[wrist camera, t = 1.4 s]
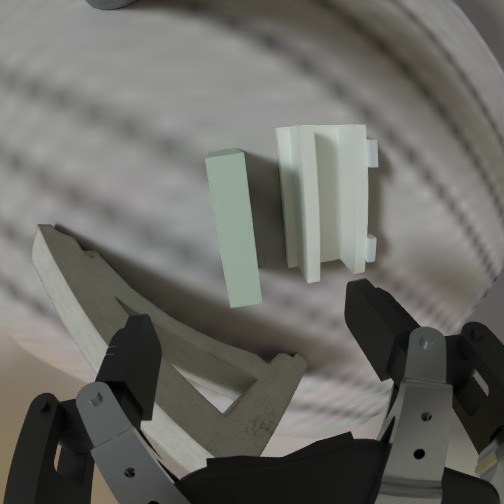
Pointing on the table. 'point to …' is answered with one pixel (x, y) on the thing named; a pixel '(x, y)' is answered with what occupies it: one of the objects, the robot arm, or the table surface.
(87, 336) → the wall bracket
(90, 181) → the table surface
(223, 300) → the table surface
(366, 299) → the robot arm
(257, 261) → the tapered block
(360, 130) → the rail
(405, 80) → the table surface
